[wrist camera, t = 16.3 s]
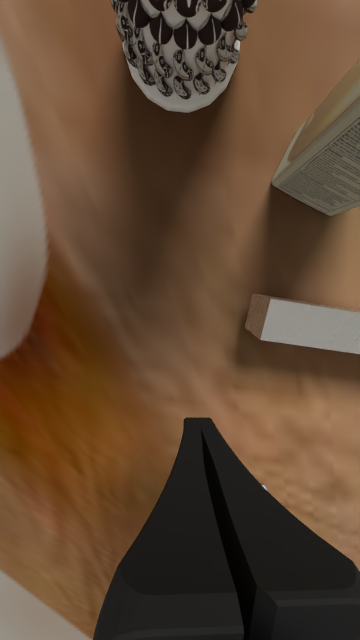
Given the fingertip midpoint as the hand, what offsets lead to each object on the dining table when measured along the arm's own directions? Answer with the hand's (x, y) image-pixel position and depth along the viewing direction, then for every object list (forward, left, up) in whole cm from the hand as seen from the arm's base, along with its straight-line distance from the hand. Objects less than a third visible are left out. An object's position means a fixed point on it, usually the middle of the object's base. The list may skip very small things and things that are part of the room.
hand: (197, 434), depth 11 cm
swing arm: (+4, -15, -9) cm, 18 cm away
